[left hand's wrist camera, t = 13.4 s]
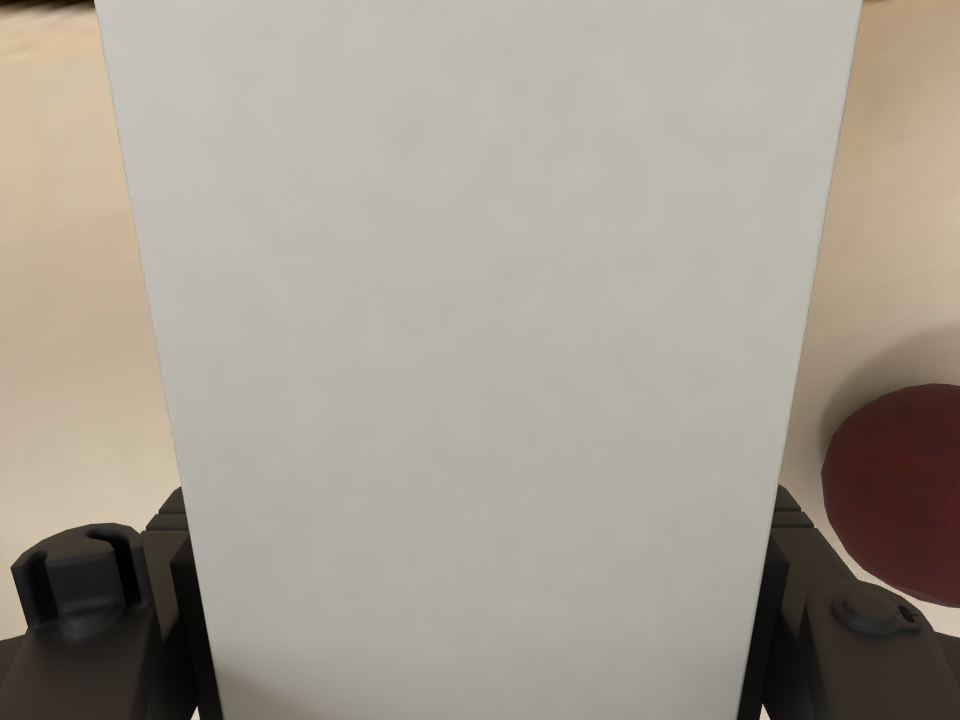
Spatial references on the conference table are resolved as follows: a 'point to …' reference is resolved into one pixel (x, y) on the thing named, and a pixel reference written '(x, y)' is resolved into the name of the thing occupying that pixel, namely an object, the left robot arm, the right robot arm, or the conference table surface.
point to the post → (479, 336)
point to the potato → (901, 490)
